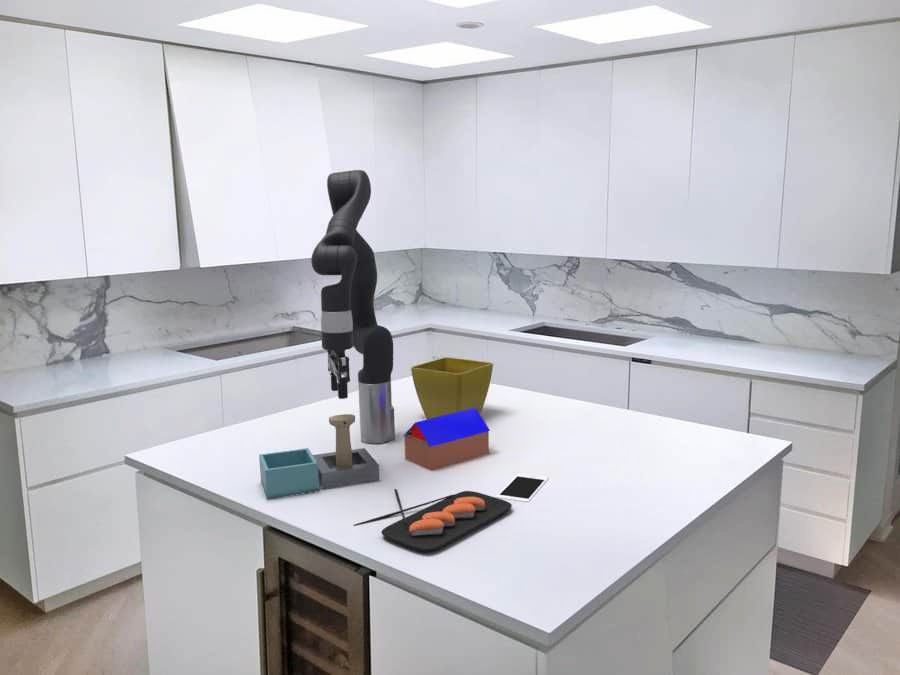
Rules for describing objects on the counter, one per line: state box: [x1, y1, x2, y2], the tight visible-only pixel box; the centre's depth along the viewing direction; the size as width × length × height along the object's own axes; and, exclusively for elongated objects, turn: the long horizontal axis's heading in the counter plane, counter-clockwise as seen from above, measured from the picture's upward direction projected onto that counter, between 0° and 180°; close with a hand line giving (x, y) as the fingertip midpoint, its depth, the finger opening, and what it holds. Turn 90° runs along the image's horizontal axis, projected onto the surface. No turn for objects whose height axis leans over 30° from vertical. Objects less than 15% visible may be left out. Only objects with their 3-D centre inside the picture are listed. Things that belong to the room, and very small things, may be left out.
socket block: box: [312, 447, 380, 490], centre depth 188 cm, size 14×14×4 cm
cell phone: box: [495, 473, 549, 503], centre depth 178 cm, size 8×16×1 cm, turn 156°
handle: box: [328, 413, 356, 468], centre depth 187 cm, size 5×6×15 cm
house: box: [403, 408, 491, 471], centre depth 200 cm, size 12×20×12 cm, turn 129°
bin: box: [258, 447, 320, 500], centre depth 181 cm, size 12×12×7 cm
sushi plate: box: [353, 488, 513, 552], centre depth 164 cm, size 29×30×4 cm
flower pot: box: [410, 356, 494, 419], centre depth 236 cm, size 19×19×17 cm
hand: (339, 394), depth 185 cm, fingers open, 8 cm apart
